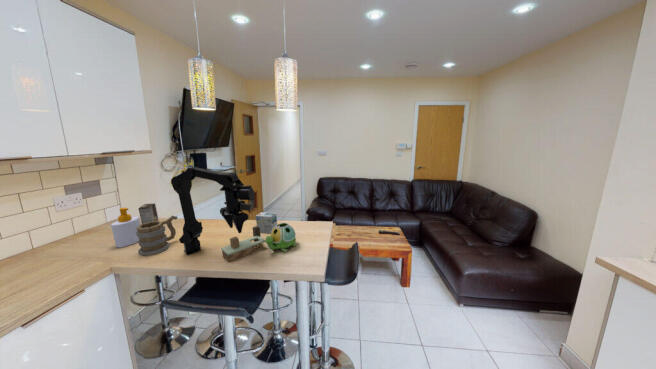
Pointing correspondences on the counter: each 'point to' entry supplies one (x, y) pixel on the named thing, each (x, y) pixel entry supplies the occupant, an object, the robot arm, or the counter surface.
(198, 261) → the counter surface
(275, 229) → the turtle holder
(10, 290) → the counter surface
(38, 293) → the counter surface
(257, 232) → the key peg
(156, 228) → the tankard
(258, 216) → the light bulb box
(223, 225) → the counter surface
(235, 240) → the lid
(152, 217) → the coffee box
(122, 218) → the soap bottle
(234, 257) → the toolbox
